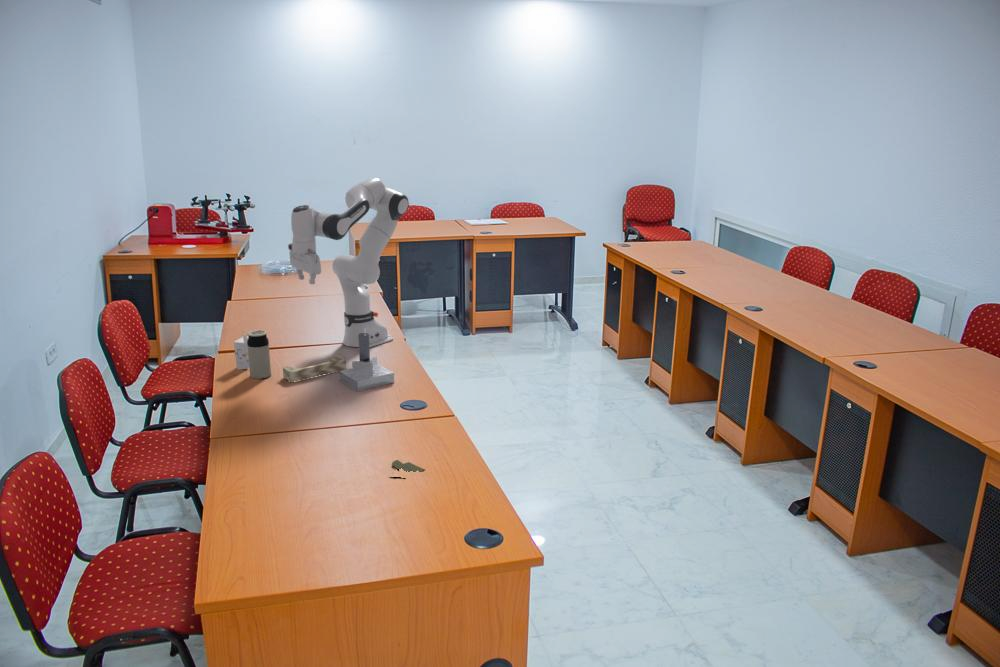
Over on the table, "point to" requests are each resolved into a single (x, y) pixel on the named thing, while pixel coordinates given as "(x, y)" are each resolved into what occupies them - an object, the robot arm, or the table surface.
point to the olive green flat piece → (407, 466)
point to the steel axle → (364, 347)
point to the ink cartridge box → (242, 352)
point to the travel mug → (258, 354)
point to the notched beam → (314, 369)
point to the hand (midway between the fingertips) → (306, 281)
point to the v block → (366, 375)
